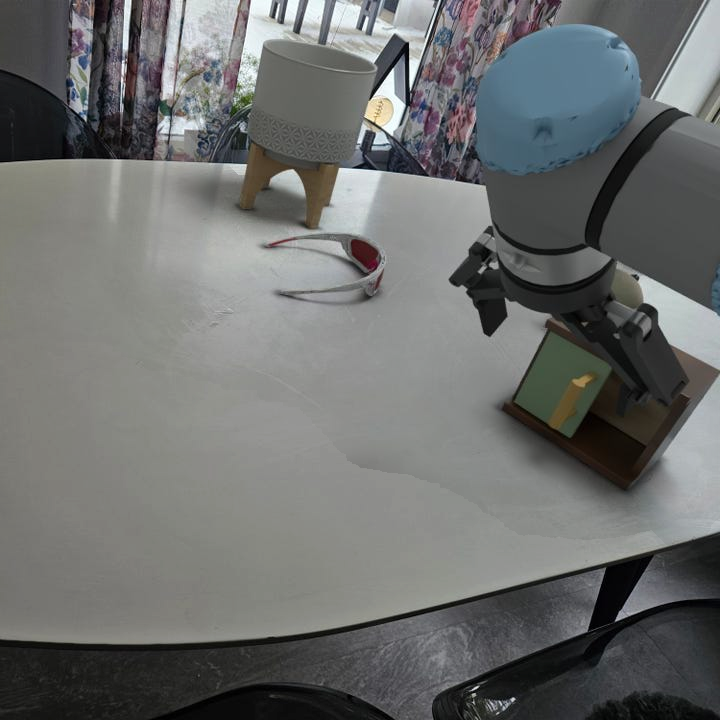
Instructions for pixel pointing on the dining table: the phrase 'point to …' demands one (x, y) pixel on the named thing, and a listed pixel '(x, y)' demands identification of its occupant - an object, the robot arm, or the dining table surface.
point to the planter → (305, 118)
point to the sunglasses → (360, 253)
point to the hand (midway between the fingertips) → (558, 362)
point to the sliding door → (563, 384)
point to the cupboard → (622, 419)
